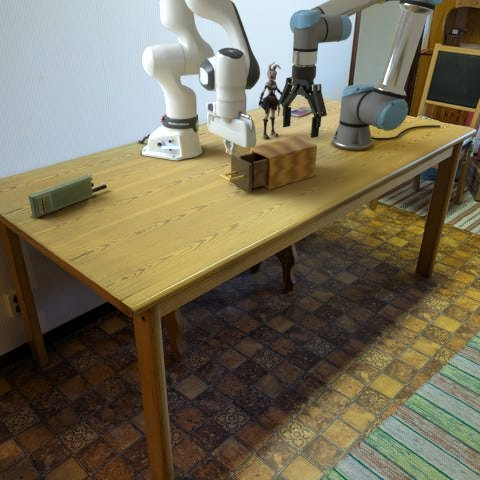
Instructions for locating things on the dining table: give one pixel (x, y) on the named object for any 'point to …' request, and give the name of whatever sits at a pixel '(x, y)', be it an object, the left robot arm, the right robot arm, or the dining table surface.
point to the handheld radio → (62, 195)
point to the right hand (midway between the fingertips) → (300, 131)
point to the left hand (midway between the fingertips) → (231, 154)
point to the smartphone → (301, 111)
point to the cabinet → (288, 160)
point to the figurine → (270, 99)
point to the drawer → (248, 171)
